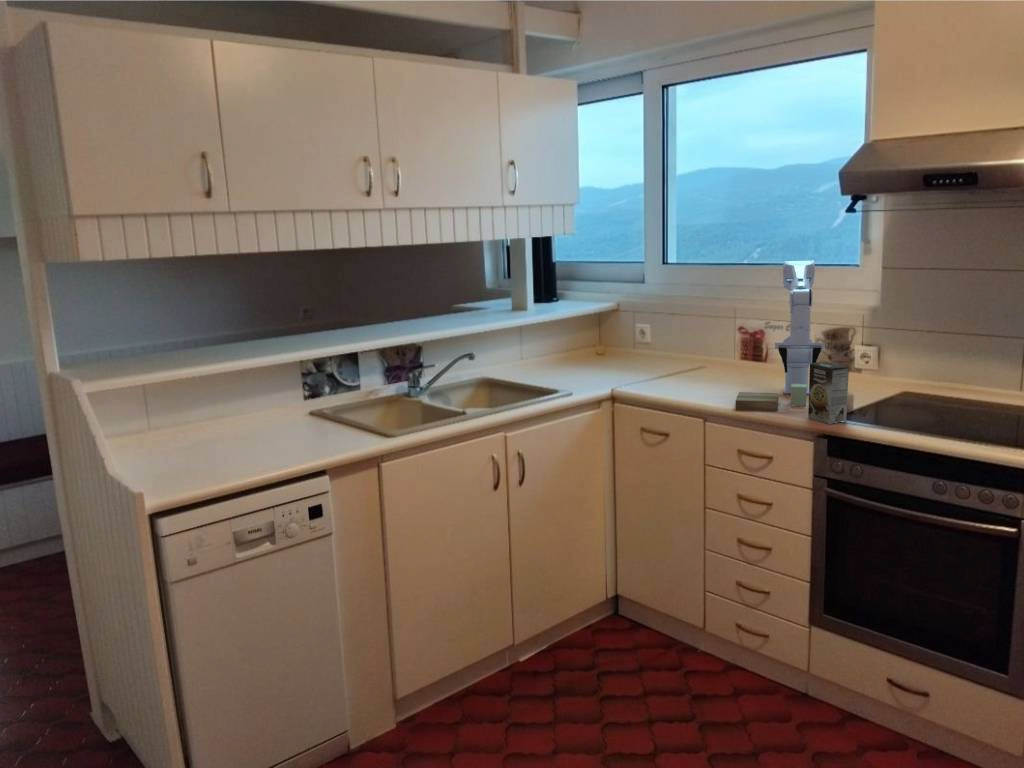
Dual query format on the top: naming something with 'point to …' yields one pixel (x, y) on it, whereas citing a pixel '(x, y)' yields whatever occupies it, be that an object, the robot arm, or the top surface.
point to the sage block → (798, 394)
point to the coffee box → (828, 392)
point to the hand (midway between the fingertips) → (799, 372)
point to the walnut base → (757, 401)
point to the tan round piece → (850, 402)
